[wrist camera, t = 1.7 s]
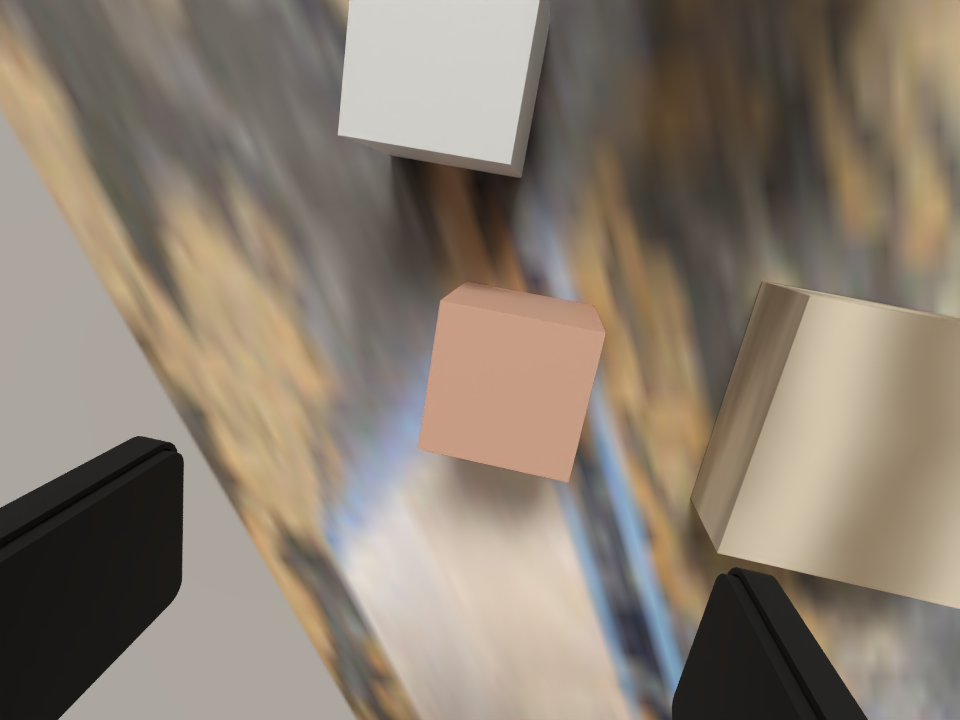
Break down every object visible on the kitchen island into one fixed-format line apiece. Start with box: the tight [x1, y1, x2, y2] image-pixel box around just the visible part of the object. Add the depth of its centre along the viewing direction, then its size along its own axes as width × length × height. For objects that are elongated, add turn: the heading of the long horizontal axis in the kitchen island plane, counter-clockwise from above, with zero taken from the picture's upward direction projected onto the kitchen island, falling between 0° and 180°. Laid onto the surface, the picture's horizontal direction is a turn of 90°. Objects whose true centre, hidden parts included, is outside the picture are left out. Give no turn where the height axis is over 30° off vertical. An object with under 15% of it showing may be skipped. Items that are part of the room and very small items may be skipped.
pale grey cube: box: [338, 0, 550, 178], centre depth 18 cm, size 6×6×6 cm
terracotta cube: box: [418, 281, 606, 483], centre depth 20 cm, size 6×6×6 cm
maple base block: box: [691, 281, 960, 609], centre depth 20 cm, size 10×10×4 cm
